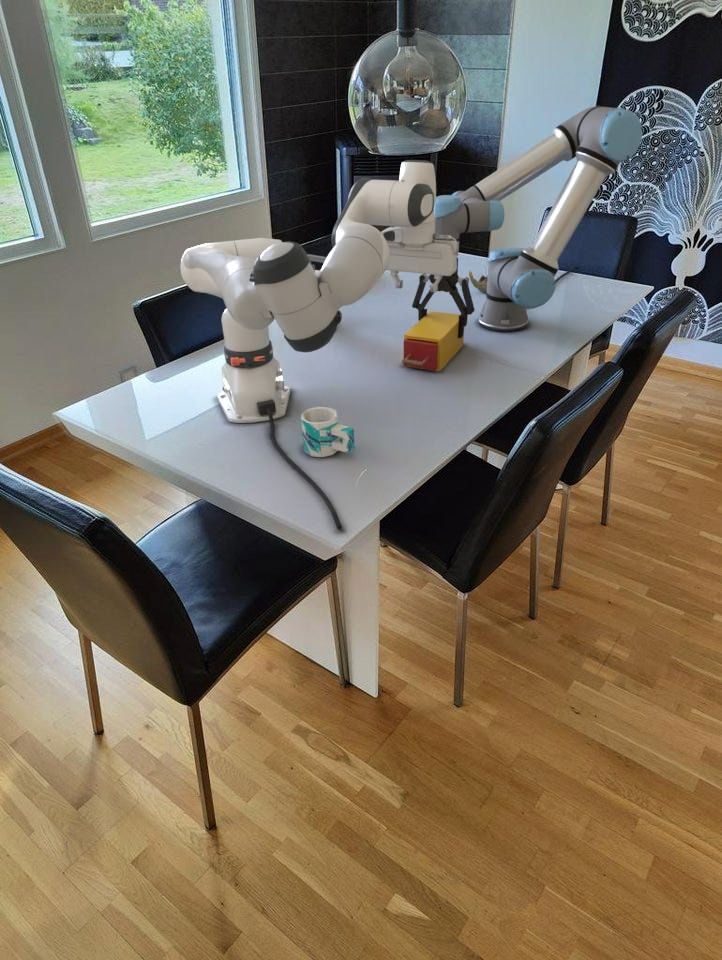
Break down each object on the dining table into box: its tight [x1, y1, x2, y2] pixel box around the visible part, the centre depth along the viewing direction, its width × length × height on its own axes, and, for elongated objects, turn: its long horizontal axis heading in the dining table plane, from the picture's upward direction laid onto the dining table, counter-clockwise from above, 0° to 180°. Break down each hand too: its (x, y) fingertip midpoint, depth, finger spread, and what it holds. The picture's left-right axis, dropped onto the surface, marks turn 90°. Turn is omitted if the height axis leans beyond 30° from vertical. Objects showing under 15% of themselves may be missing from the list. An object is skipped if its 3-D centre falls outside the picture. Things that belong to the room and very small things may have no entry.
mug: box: [300, 406, 356, 458], centre depth 147 cm, size 8×12×8 cm
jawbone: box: [468, 270, 488, 293], centre depth 238 cm, size 9×15×10 cm
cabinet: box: [403, 310, 465, 372], centre depth 191 cm, size 21×11×9 cm, turn 155°
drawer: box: [401, 339, 438, 371], centre depth 187 cm, size 25×9×7 cm, turn 155°
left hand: (416, 289), depth 169 cm, fingers open, 8 cm apart
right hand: (442, 334), depth 195 cm, fingers closed on cabinet, 11 cm apart
